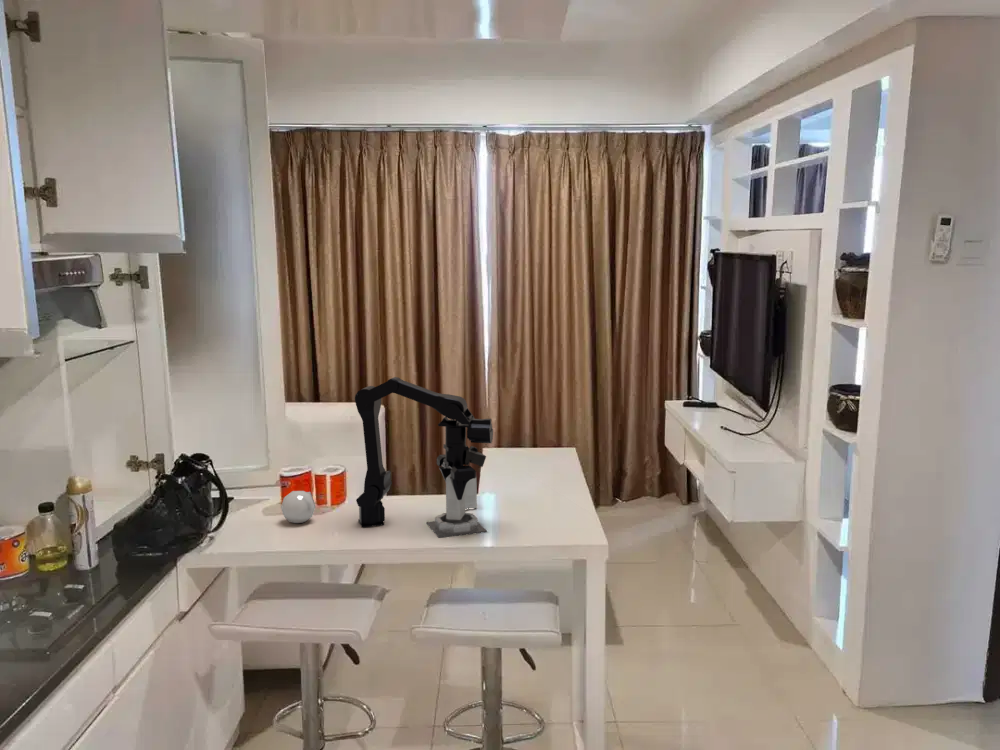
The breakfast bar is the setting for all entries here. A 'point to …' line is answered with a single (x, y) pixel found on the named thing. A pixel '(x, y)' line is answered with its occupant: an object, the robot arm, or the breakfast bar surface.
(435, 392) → the robot arm
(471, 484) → the small box
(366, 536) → the breakfast bar surface
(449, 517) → the skincare box
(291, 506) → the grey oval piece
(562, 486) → the breakfast bar surface
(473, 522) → the grey octagonal ring base
